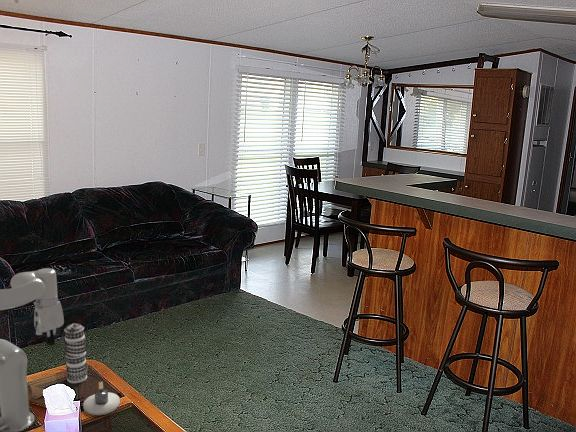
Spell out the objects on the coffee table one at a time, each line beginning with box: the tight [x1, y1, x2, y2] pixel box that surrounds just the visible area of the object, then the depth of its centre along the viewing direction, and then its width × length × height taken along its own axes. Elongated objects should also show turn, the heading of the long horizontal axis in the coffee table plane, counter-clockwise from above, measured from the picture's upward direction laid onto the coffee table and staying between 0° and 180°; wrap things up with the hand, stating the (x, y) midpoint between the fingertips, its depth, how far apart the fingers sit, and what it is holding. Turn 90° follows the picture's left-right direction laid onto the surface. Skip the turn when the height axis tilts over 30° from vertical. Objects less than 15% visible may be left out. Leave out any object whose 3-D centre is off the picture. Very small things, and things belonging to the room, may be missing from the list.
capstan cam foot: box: [94, 381, 109, 405], centre depth 224 cm, size 10×5×5 cm, turn 20°
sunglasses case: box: [27, 384, 45, 408], centre depth 225 cm, size 18×7×7 cm, turn 72°
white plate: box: [83, 391, 121, 416], centre depth 222 cm, size 14×14×2 cm
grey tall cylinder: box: [63, 322, 88, 384], centre depth 238 cm, size 9×9×25 cm
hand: (50, 344), depth 214 cm, fingers closed
